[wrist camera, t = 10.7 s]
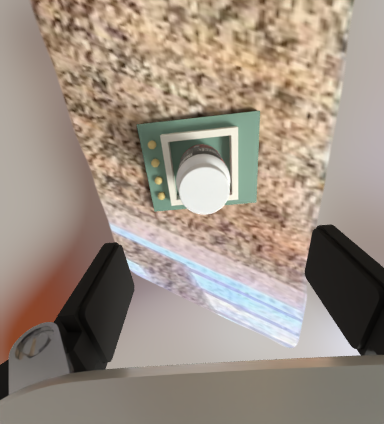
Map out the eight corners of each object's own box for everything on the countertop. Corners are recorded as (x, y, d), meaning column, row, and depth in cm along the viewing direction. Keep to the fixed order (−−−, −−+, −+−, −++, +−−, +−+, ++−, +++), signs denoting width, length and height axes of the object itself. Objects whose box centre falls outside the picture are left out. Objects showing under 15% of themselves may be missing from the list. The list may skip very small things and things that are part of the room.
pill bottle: (231, 160, 27) (249, 185, 18) (205, 193, 29) (211, 230, 20) (195, 134, 26) (197, 147, 17) (171, 170, 28) (161, 200, 19)
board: (138, 124, 26) (133, 125, 24) (257, 110, 25) (264, 110, 23) (155, 208, 32) (152, 216, 29) (254, 199, 31) (259, 206, 28)
